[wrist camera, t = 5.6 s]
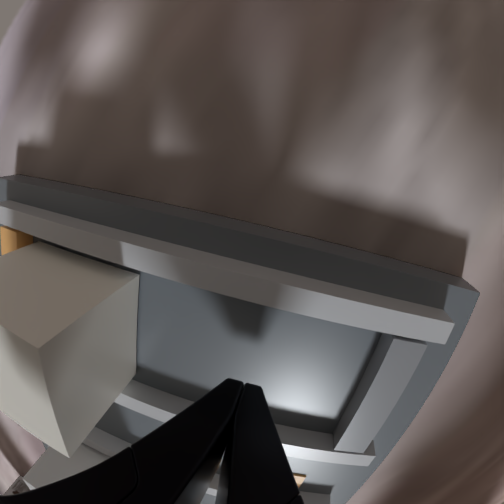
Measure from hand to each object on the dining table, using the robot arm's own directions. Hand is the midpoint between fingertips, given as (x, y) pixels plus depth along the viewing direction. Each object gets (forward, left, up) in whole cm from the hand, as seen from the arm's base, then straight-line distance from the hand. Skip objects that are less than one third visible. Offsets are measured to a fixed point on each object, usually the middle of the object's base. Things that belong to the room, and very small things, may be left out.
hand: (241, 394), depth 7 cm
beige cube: (0, +5, -1) cm, 6 cm away
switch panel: (-4, +2, -3) cm, 6 cm away
